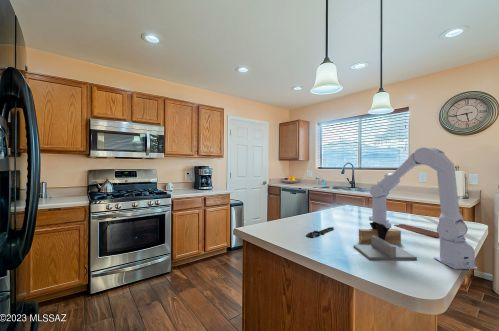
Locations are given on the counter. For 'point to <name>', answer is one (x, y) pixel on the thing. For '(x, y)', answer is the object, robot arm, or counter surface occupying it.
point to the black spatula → (319, 232)
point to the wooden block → (366, 234)
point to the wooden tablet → (419, 230)
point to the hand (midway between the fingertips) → (379, 239)
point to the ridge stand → (383, 251)
